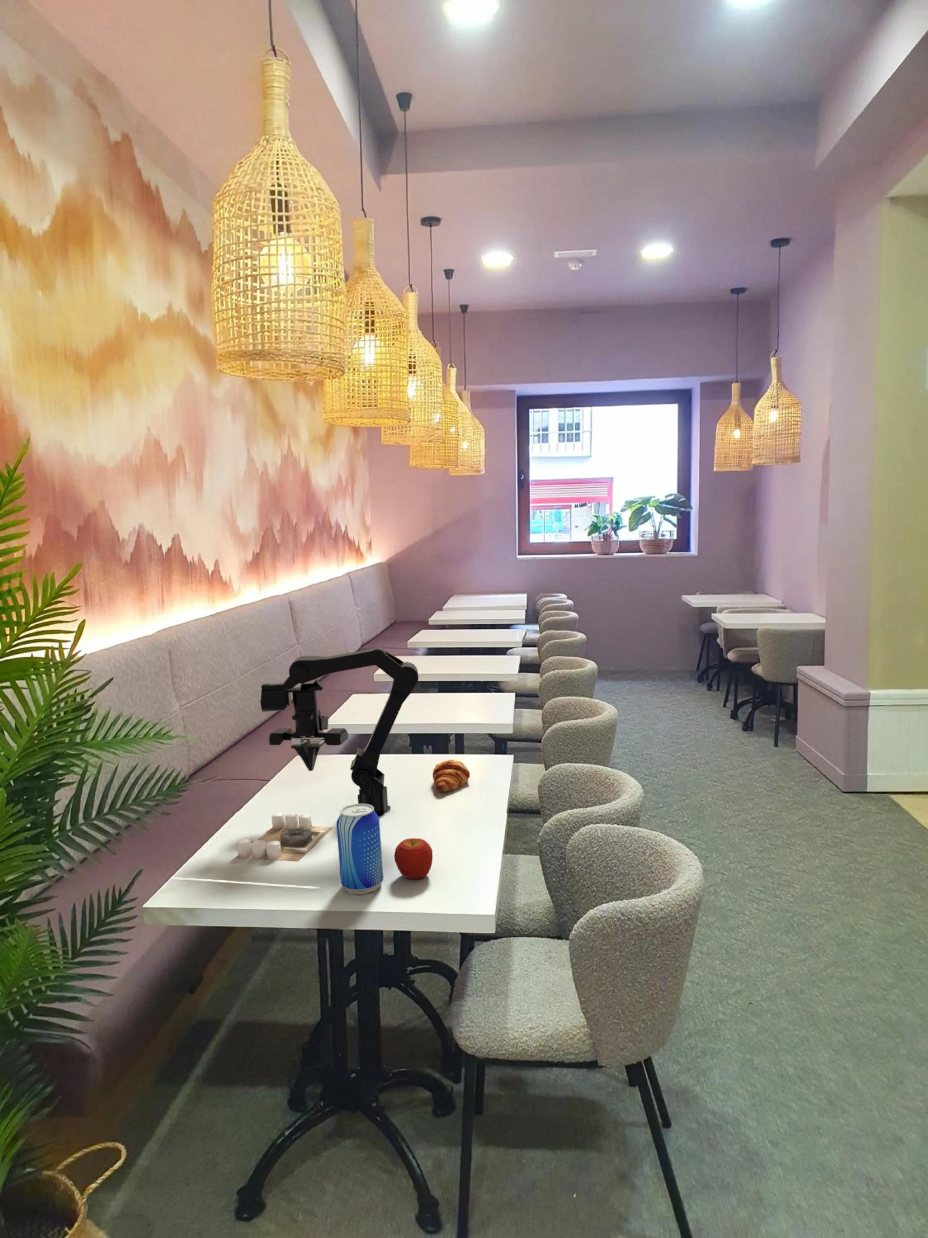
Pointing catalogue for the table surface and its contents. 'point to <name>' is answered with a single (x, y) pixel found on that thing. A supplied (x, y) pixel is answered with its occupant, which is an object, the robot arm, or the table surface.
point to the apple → (413, 858)
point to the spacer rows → (273, 847)
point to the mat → (291, 852)
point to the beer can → (359, 849)
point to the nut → (296, 837)
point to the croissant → (450, 775)
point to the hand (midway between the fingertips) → (311, 770)
